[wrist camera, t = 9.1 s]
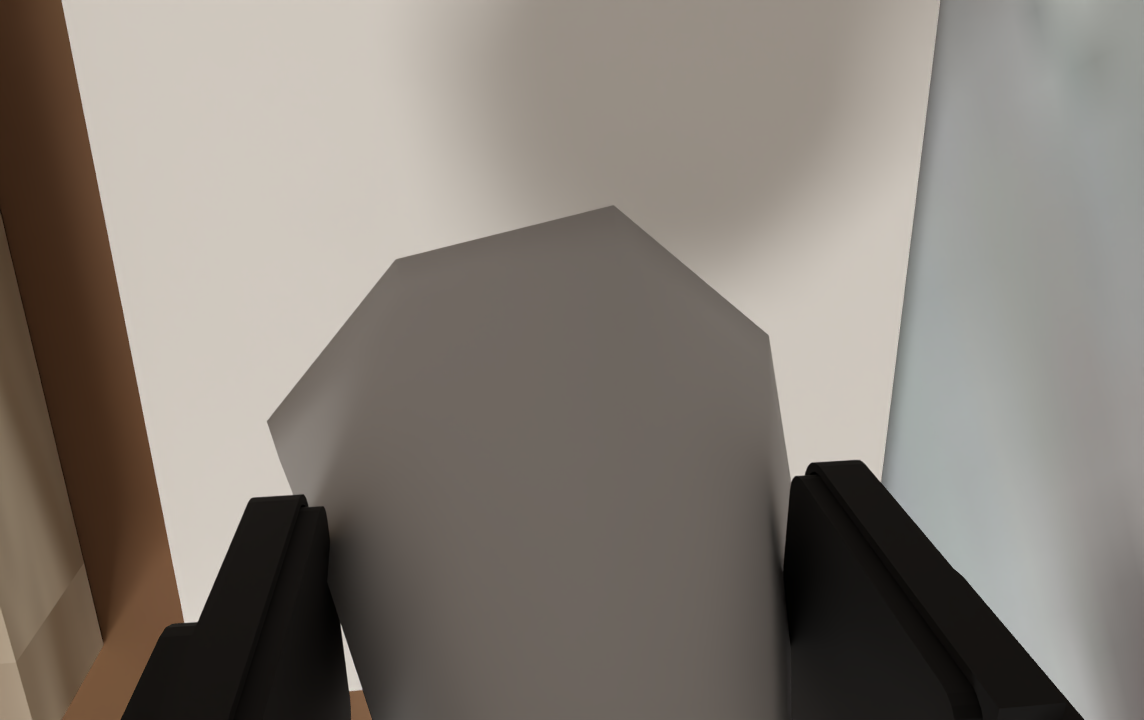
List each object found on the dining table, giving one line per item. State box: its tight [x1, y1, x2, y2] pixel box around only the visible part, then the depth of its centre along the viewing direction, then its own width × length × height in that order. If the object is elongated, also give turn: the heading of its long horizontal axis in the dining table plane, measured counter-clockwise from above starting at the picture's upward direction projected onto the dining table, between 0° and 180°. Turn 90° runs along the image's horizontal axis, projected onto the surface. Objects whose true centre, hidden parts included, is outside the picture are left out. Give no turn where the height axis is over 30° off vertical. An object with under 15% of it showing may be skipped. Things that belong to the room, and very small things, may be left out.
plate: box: [62, 0, 940, 691], centre depth 18 cm, size 14×14×1 cm
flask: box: [267, 205, 791, 720], centre depth 9 cm, size 7×7×10 cm
